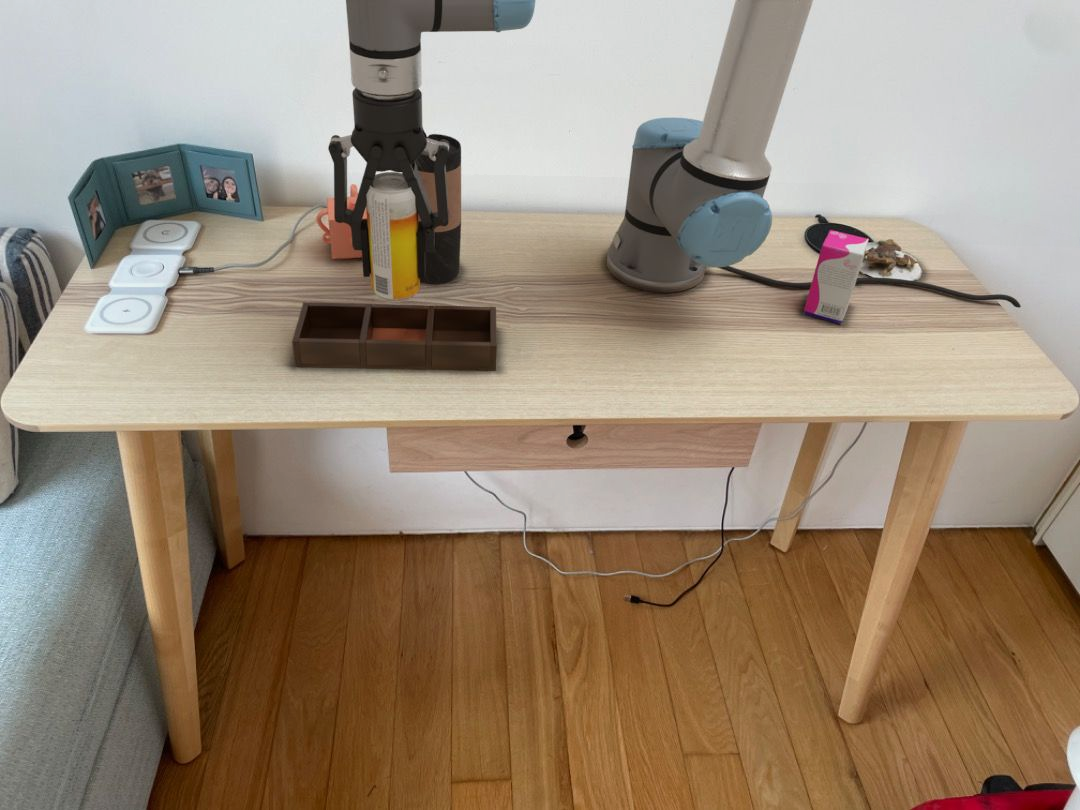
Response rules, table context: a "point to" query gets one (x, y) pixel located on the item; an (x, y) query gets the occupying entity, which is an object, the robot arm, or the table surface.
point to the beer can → (393, 238)
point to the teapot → (340, 229)
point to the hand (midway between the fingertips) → (395, 271)
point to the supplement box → (835, 276)
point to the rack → (395, 336)
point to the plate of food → (889, 262)
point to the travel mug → (447, 238)
